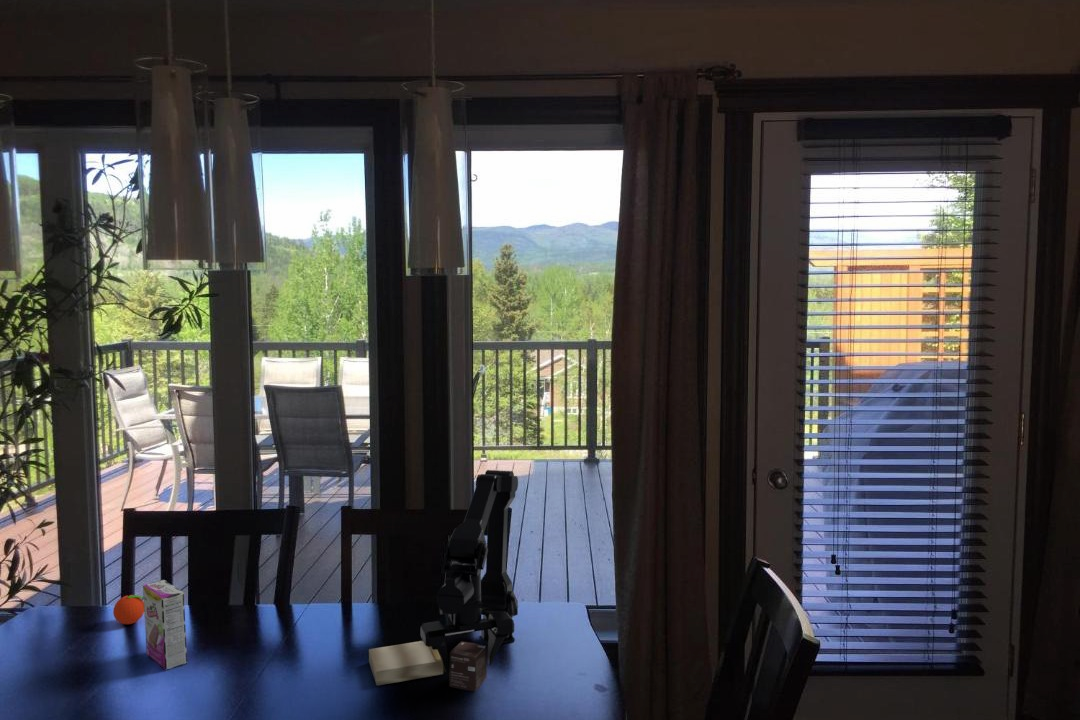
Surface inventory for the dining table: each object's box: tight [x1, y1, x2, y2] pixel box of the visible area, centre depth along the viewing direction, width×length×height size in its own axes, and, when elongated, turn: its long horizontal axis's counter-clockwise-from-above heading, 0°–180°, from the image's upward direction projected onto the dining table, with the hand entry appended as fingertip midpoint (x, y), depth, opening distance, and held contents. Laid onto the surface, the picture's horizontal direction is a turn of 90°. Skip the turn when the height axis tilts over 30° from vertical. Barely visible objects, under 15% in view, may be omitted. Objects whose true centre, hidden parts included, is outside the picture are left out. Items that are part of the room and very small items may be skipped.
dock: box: [368, 640, 444, 686], centre depth 168 cm, size 14×11×3 cm
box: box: [448, 640, 488, 692], centre depth 161 cm, size 6×6×7 cm
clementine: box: [112, 594, 144, 625], centre depth 192 cm, size 8×7×7 cm
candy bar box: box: [142, 579, 188, 671], centre depth 172 cm, size 11×5×16 cm, turn 47°
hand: (468, 668), depth 161 cm, fingers open, 9 cm apart
